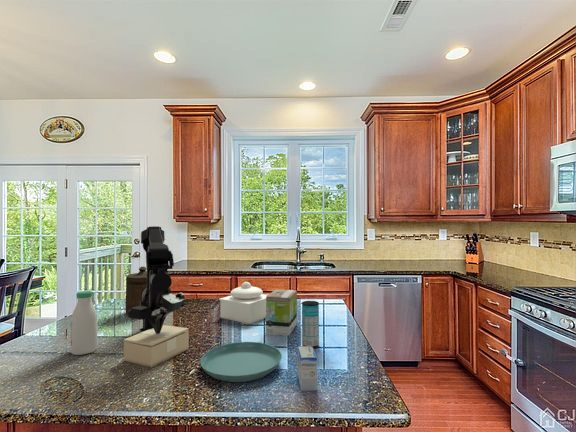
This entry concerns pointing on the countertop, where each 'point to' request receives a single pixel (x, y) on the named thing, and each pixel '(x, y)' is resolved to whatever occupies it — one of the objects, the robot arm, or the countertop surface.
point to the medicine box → (307, 369)
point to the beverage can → (310, 324)
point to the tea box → (281, 312)
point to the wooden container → (135, 288)
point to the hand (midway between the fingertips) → (157, 333)
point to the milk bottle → (84, 325)
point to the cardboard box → (156, 350)
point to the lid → (156, 335)
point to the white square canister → (244, 304)
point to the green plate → (241, 361)
